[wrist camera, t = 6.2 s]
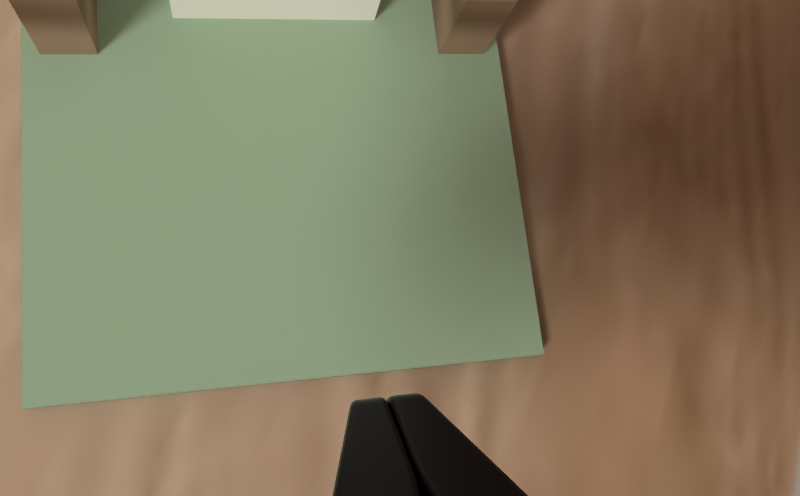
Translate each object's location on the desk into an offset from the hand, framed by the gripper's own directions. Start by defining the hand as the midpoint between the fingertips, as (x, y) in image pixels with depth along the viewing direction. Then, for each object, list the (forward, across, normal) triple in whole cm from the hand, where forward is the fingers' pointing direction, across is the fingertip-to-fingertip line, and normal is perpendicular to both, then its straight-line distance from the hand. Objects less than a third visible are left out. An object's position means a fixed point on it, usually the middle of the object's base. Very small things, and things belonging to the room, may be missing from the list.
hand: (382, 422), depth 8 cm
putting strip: (+17, 0, -1) cm, 17 cm away
